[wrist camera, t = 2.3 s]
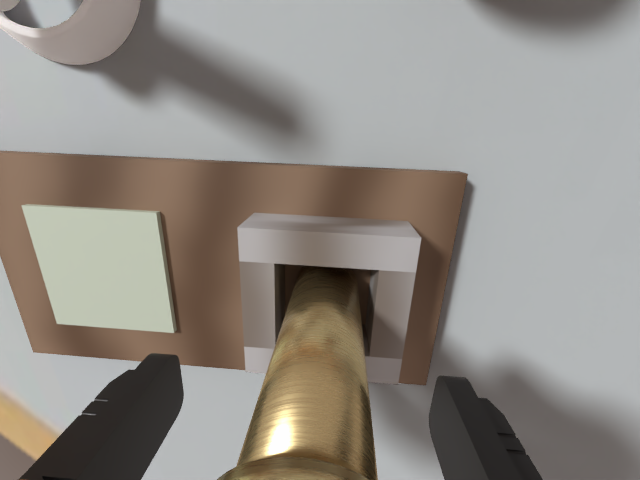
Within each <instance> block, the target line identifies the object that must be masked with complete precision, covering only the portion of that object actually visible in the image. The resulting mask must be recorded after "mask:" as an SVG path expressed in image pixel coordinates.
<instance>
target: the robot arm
mask: <svg viewBox="0 0 640 480" xmlns="http://www.w3.org/2000/svg"><path fill="white" fill-rule="evenodd" d="M183 396H184V392H183V384H182V377H181V369H180V362H179V358H178V356H177V355H172V354H158V353H151V354H149V355H148V356H147V357H146V358H145V359H144V360H143V361H142V362H141V363H140V364H139V366H138V367H137V368H136V369H135V370H128V371H126V372H125V373H123V374H122V375H120V376H119V377H117V378H116V379H114V380H113V381H111V382H110V383H109V384H108V385H107V386H106V387H105V388H104V389H103V390H102V391H101V392H100V393H99V395H98V396H97V397H96V398H95V401H94V402H91V403H90V404H89V405H88V406H87V407H86V408H85V410H84V411H83V412H82V415H81V416H78V417H77V418H76V419H75V420H74V421H73V422H72V423H71V425H70V426H69V427H68V428H67V429H66V430H65V431H64V432H63V433H62V434H61V435H60V436H59V437H58V438H57V440H56V441H55V442H54V443H53V444H52V445H51V446H50V447H49V448H48V449H47V450H46V451H45V452H44V453H43V455H42V456H41V457H40V458H39V459H38V460H37V461H36V462H35V463H34V464H33V465H32V466H31V467H30V468H29V470H28V471H27V472H26V473H25V474H24V475H23V476H22V477H21V478H20V479H19V480H141V479H142V477H143V475H144V473H145V472H146V470H147V468H148V466H149V465H150V463H151V461H152V459H153V458H154V456H155V454H156V453H157V451H158V449H159V447H160V446H161V444H162V442H163V440H164V439H165V437H166V435H167V433H168V432H169V430H170V428H171V427H172V425H173V423H174V421H175V420H176V418H177V416H178V414H179V412H180V409H181V406H182V403H183ZM429 427H430V433H431V438H432V441H433V444H434V447H435V450H436V454H437V457H438V460H439V463H440V466H441V470H442V473H443V476H444V479H445V480H543V479H542V478H541V476H540V474H539V473H538V471H537V469H536V468H535V466H534V464H533V463H532V461H531V459H530V458H529V456H528V455H526V453H525V449H524V448H523V446H522V445H521V443H520V441H519V440H518V438H516V437H515V433H514V431H513V430H512V428H511V426H510V425H509V423H508V421H507V420H506V418H505V416H504V415H503V414H502V413H501V412H500V411H499V410H498V409H497V408H496V407H495V406H494V405H493V404H492V403H491V402H490V401H489V400H488V399H485V398H478V397H477V395H476V393H475V391H474V390H473V388H472V386H471V384H470V382H469V381H468V380H467V379H466V378H464V377H451V376H438V378H437V381H436V385H435V390H434V394H433V399H432V404H431V408H430V413H429Z"/></svg>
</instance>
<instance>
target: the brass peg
mask: <svg viewBox="0 0 640 480" xmlns="http://www.w3.org/2000/svg"><path fill="white" fill-rule="evenodd" d="M217 480H378V477H377V468H376V458H375V448H374V438H373V429H372V419H371V409H370V400H369V390H368V380H367V370H366V361H365V351H364V341H363V332H362V322H361V312H360V302H359V293H358V283H357V278H356V275H355V273H354V272H353V270H352V269H351V268H337V267H321V266H306V265H304V266H303V267H302V269H301V270H300V272H299V274H298V276H297V279H296V283H295V286H294V289H293V292H292V295H291V298H290V301H289V304H288V307H287V311H286V314H285V317H284V320H283V323H282V326H281V329H280V332H279V335H278V339H277V342H276V345H275V348H274V351H273V354H272V357H271V360H270V363H269V367H268V370H267V373H266V376H265V379H264V382H263V385H262V388H261V391H260V395H259V398H258V401H257V404H256V407H255V410H254V413H253V416H252V419H251V423H250V426H249V429H248V432H247V435H246V438H245V441H244V444H243V447H242V451H241V454H240V457H239V460H238V463H237V466H236V467H235V468H233V469H231V470H230V471H228V472H226V473H225V474H223V475H222V476H221V477H219V478H218V479H217Z"/></svg>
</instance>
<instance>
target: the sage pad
mask: <svg viewBox="0 0 640 480" xmlns="http://www.w3.org/2000/svg"><path fill="white" fill-rule="evenodd" d="M21 206H22V209H23V213H24V216H25V219H26V223H27V226H28V229H29V232H30V236H31V239H32V242H33V246H34V249H35V252H36V256H37V259H38V262H39V266H40V269H41V272H42V276H43V279H44V282H45V286H46V289H47V292H48V296H49V299H50V302H51V306H52V309H53V312H54V316H55V319H56V322H57V324H65V325H77V326H90V327H103V328H116V329H128V330H141V331H154V332H167V333H175V331H176V330H177V328H176V321H175V314H174V307H173V300H172V293H171V286H170V279H169V272H168V265H167V258H166V251H165V244H164V238H163V231H162V224H161V217H160V211H143V210H125V209H107V208H89V207H71V206H53V205H34V204H25V205H21Z"/></svg>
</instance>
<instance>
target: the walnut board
mask: <svg viewBox="0 0 640 480" xmlns="http://www.w3.org/2000/svg"><path fill="white" fill-rule="evenodd" d="M467 175H468V174H466V173H463V172H459V171H437V170H415V169H392V168H370V167H348V166H326V165H304V164H282V163H259V162H237V161H215V160H193V159H171V158H149V157H127V156H104V155H82V154H60V153H38V152H16V151H0V256H1V259H2V262H3V265H4V268H5V271H6V274H7V277H8V280H9V283H10V286H11V288H12V291H13V294H14V297H15V300H16V303H17V306H18V309H19V312H20V315H21V318H22V320H23V323H24V326H25V329H26V332H27V335H28V338H29V341H30V344H31V347H32V350H33V352H37V353H48V354H60V355H72V356H84V357H96V358H108V359H120V360H132V361H143V360H144V359H145V358H146V357H147V356H148V355H149V354H151V353H158V354H172V355H177V356H178V358H179V362H180V365H191V366H203V367H215V368H227V369H239V370H245V371H246V372H253V373H265V374H266V373H267V370H268V367H269V363H270V360H271V357H272V354H273V351H274V348H275V345H276V342H277V339H278V335H279V332H280V329H281V326H282V323H283V320H284V317H285V314H286V311H287V307H288V304H289V301H290V298H291V295H292V292H293V289H294V286H295V283H296V279H297V276H298V274H299V272H300V270H301V269H302V267H303V266H304V265H306V266H321V267H337V268H351V269H352V270H353V272H354V273H355V275H356V278H357V283H358V293H359V302H360V312H361V322H362V332H363V341H364V351H365V361H366V370H367V380H368V382H372V383H383V384H395V385H398V383H405V384H417V385H426V382H427V377H428V372H429V367H430V362H431V357H432V352H433V347H434V341H435V336H436V331H437V326H438V321H439V316H440V311H441V306H442V301H443V296H444V291H445V286H446V281H447V276H448V271H449V266H450V261H451V256H452V251H453V246H454V241H455V236H456V231H457V226H458V221H459V215H460V210H461V205H462V200H463V195H464V190H465V185H466V180H467ZM25 204H34V205H53V206H71V207H89V208H107V209H125V210H143V211H160V217H161V224H162V231H163V238H164V244H165V251H166V258H167V265H168V272H169V279H170V286H171V293H172V300H173V307H174V314H175V321H176V328H177V330H176V331H175V333H167V332H154V331H141V330H128V329H116V328H103V327H90V326H77V325H65V324H57V322H56V319H55V316H54V312H53V309H52V306H51V302H50V299H49V296H48V292H47V289H46V286H45V282H44V279H43V276H42V272H41V269H40V266H39V262H38V259H37V256H36V252H35V249H34V246H33V242H32V239H31V236H30V232H29V229H28V226H27V223H26V219H25V216H24V213H23V209H22V206H21V205H25Z"/></svg>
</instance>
